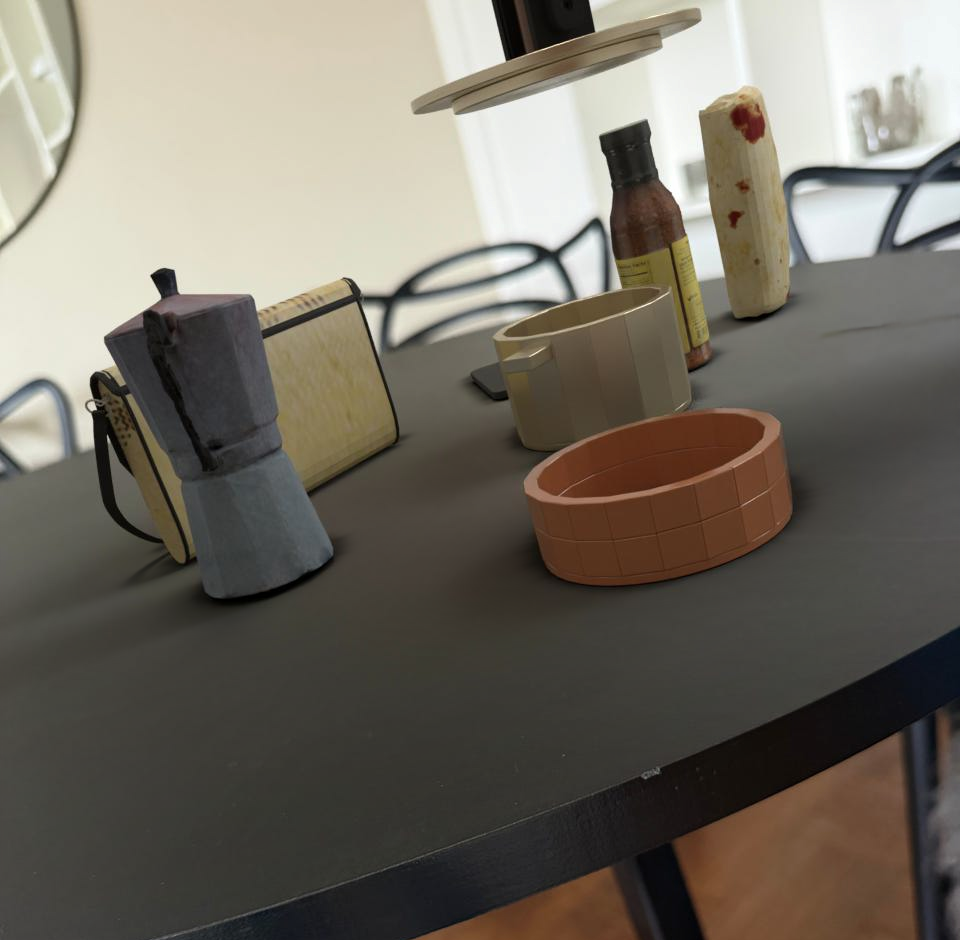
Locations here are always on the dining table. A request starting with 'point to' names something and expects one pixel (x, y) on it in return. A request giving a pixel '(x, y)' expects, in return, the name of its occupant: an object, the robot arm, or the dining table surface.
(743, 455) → the pan
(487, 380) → the phone
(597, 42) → the lid
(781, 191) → the food model
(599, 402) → the pot
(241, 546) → the moka pot
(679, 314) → the sauce bottle
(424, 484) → the dining table surface
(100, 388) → the clutch purse
